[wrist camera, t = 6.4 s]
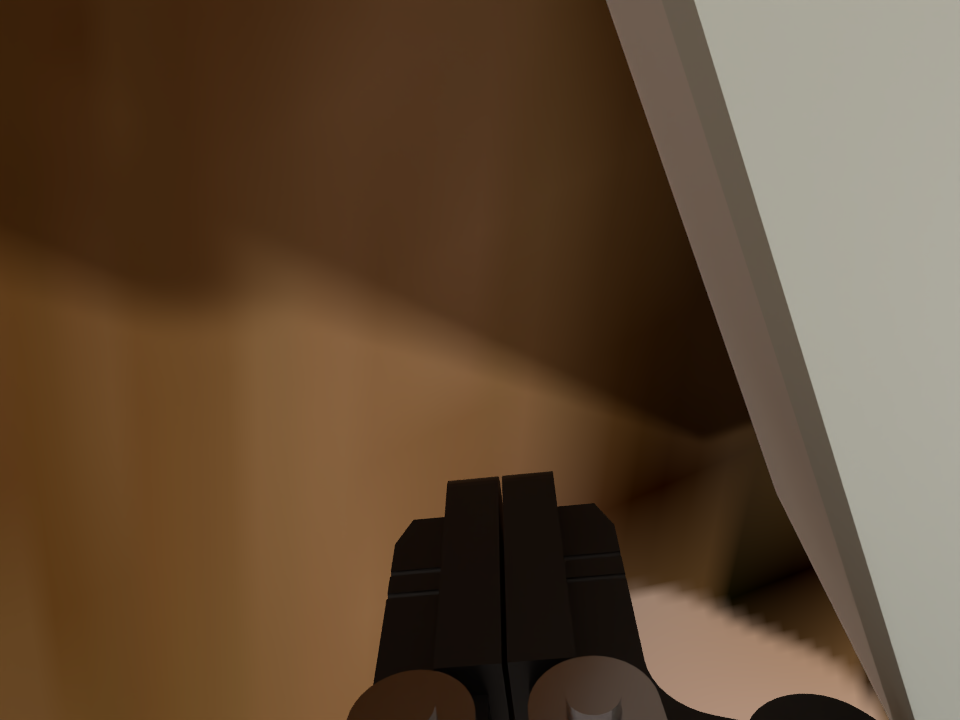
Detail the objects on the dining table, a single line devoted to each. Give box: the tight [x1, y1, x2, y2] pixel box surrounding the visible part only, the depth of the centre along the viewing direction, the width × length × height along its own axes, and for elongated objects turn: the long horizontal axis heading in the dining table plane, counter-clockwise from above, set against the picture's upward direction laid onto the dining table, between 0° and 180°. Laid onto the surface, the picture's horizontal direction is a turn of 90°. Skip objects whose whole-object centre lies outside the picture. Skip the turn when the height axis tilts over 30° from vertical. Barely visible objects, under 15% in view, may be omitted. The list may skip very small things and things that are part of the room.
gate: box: [606, 0, 960, 720], centre depth 9 cm, size 18×2×9 cm, turn 24°
